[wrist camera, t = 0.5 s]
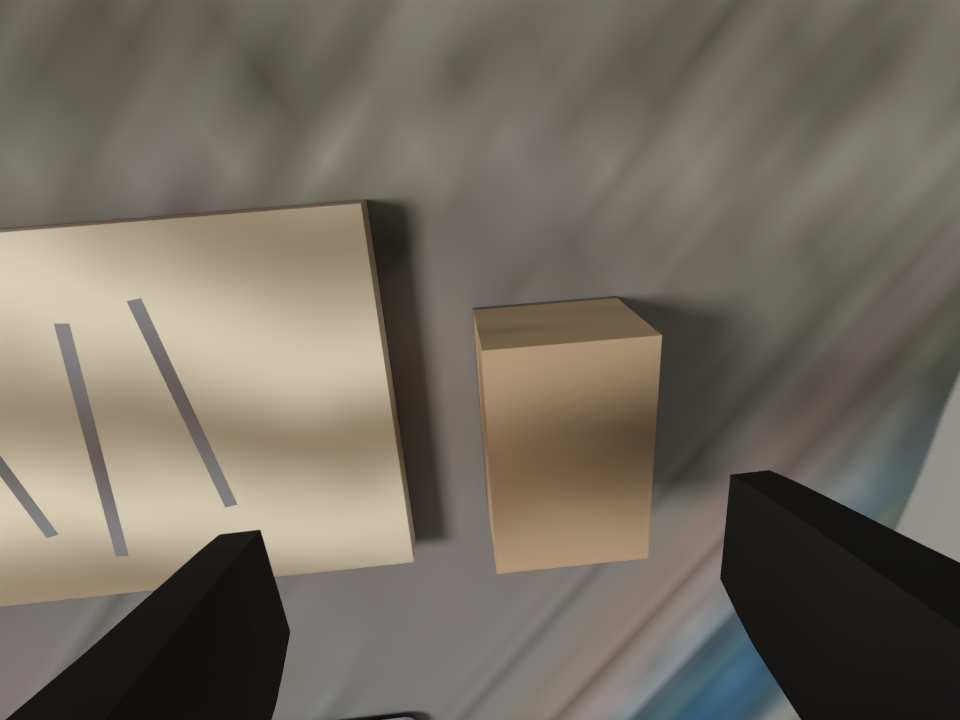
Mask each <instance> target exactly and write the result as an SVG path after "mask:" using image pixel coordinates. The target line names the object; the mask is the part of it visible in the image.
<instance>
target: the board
mask: <svg viewBox="0 0 960 720" xmlns="http://www.w3.org/2000/svg"><path fill="white" fill-rule="evenodd" d="M253 530H261V533H262V537H263V540H264V544H265V547H266V550H267V554H268V557H269V561H270V564H271V568H272V571H273V575H274V577H279V576H288V575H297V574H307V573H316V572H325V571H335V570H344V569H353V568H362V567H372V566H381V565H390V564H400V563H409V562H414V553H415V533H414V526H413V519H412V512H411V505H410V498H409V491H408V484H407V477H406V470H405V463H404V456H403V449H402V443H401V436H400V429H399V422H398V415H397V408H396V401H395V394H394V387H393V380H392V373H391V366H390V359H389V352H388V345H387V339H386V332H385V325H384V318H383V311H382V304H381V297H380V290H379V283H378V276H377V269H376V262H375V255H374V248H373V241H372V234H371V228H370V221H369V214H368V207H367V200H355V201H343V202H330V203H318V204H305V205H293V206H281V207H268V208H256V209H243V210H231V211H218V212H206V213H194V214H181V215H169V216H156V217H144V218H131V219H119V220H107V221H94V222H82V223H69V224H57V225H44V226H32V227H20V228H7V229H0V606H9V605H18V604H28V603H37V602H46V601H56V600H65V599H74V598H84V597H93V596H102V595H111V594H121V593H130V592H139V591H149V590H156V589H157V588H158V587H160V586H161V585H162V584H163V583H164V582H165V581H166V580H167V579H168V578H170V577H171V576H172V575H173V574H174V573H175V572H176V571H177V570H178V569H180V568H181V567H182V566H183V565H184V564H185V563H186V562H187V561H189V560H190V559H191V558H192V557H193V556H194V555H195V554H197V553H198V552H199V551H200V550H201V549H202V548H203V547H205V546H206V545H207V544H208V543H209V542H211V541H212V540H213V539H214V538H216V537H217V536H218V535H219V534H227V533H236V532H244V531H253Z"/></svg>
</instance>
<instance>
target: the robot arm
mask: <svg viewBox="0 0 960 720" xmlns="http://www.w3.org/2000/svg"><path fill="white" fill-rule="evenodd" d="M720 579H721V581H722V583H723V585H724V587H725V589H726V592H727V594H728V596H729V598H730V600H731V602H732V604H733V606H734V608H735V610H736V613H737V615H738V616H739V618H740V620H741V622H742V624H743V626H744V628H745V630H746V632H747V634H748V636H749V638H750V640H751V642H752V644H753V645H754V647H755V648H756V650H757V652H758V653H759V655H760V656H761V658H762V660H763V661H764V663H765V664H766V666H767V667H768V669H769V670H770V672H771V674H772V675H773V677H774V678H775V680H776V681H777V683H778V685H779V686H780V688H781V689H782V691H783V692H784V694H785V695H786V697H787V699H788V700H789V702H790V703H791V705H792V706H793V708H794V709H795V711H796V712H797V714H798V715H799V717H800V718H801V720H960V563H959V562H957V561H955V560H953V559H951V558H949V557H947V556H945V555H943V554H940V553H938V552H936V551H934V550H932V549H930V548H928V547H926V546H924V545H922V544H920V543H918V542H916V541H914V540H912V539H910V538H908V537H906V536H904V535H901V534H900V533H898V532H896V531H894V530H892V529H890V528H888V527H886V526H884V525H882V524H880V523H878V522H876V521H874V520H872V519H870V518H868V517H866V516H864V515H862V514H860V513H858V512H856V511H854V510H852V509H850V508H848V507H846V506H844V505H842V504H840V503H838V502H836V501H834V500H832V499H830V498H828V497H826V496H824V495H822V494H820V493H818V492H816V491H814V490H812V489H810V488H808V487H805V486H803V485H801V484H799V483H797V482H795V481H793V480H791V479H788V478H786V477H784V476H782V475H779V474H777V473H775V472H772V471H770V470H768V471H759V472H750V473H742V474H733V475H731V476H730V486H729V496H728V506H727V516H726V526H725V537H724V547H723V557H722V567H721V577H720ZM289 635H290V630H289V626H288V623H287V619H286V616H285V612H284V609H283V606H282V602H281V599H280V595H279V592H278V588H277V585H276V581H275V578H274V575H273V571H272V568H271V564H270V561H269V557H268V554H267V550H266V547H265V544H264V540H263V537H262V533H261V530H253V531H244V532H236V533H227V534H219V535H218V536H217V537H216V538H214V539H213V540H212V541H211V542H209V543H208V544H207V545H206V546H205V547H203V548H202V549H201V550H200V551H199V552H198V553H197V554H195V555H194V556H193V557H192V558H191V559H190V560H189V561H187V562H186V563H185V564H184V565H183V566H182V567H181V568H180V569H178V570H177V571H176V572H175V573H174V574H173V575H172V576H171V577H170V578H168V579H167V580H166V581H165V582H164V583H163V584H162V585H161V586H160V587H158V588H157V589H156V590H155V591H154V592H153V593H152V594H151V595H150V596H149V597H147V598H146V599H145V600H144V601H143V602H142V603H141V604H140V605H138V606H137V607H136V608H135V609H134V610H133V611H132V612H131V613H129V614H128V615H127V616H126V617H125V618H124V619H123V620H122V621H120V622H119V623H118V624H117V625H116V626H115V627H114V628H113V629H111V630H110V631H109V632H108V633H107V634H106V635H105V636H104V637H102V638H101V639H100V640H99V641H98V642H97V643H96V644H95V645H93V646H92V647H91V648H90V649H89V650H88V651H87V652H86V653H84V654H83V655H82V656H81V657H80V658H79V659H77V660H76V661H75V662H74V663H73V664H71V665H70V666H69V667H68V668H67V669H65V670H64V671H63V672H62V673H61V674H59V675H58V676H57V677H56V678H55V679H54V680H52V681H51V682H50V683H49V684H48V685H46V686H45V687H44V688H43V689H42V690H40V691H39V692H38V693H37V694H36V695H34V696H33V697H32V698H31V699H30V700H28V701H27V702H26V703H25V704H24V705H22V706H21V707H20V708H19V709H18V710H17V711H15V712H14V713H13V714H12V715H11V716H9V717H8V718H7V719H6V720H271V719H272V716H273V712H274V709H275V706H276V702H277V697H278V692H279V687H280V683H281V678H282V673H283V668H284V662H285V657H286V651H287V646H288V640H289ZM384 720H414V719H413V718H410V717H401V718H393V719H384Z"/></svg>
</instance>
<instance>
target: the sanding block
mask: <svg viewBox="0 0 960 720" xmlns="http://www.w3.org/2000/svg"><path fill="white" fill-rule="evenodd" d="M473 318H474V332H475V346H476V359H477V373H478V387H479V401H480V414H481V428H482V442H483V456H484V470H485V483H486V496H487V504H488V511H489V518H490V525H491V533H492V540H493V547H494V554H495V562H496V569H497V574H500V573H509V572H519V571H528V570H538V569H547V568H557V567H567V566H576V565H586V564H595V563H605V562H615V561H624V560H634V559H643V558H648V548H649V533H650V517H651V501H652V486H653V470H654V454H655V438H656V423H657V407H658V391H659V376H660V360H661V344H662V335H661V334H660V333H659V332H658V331H656V330H655V329H654V328H653V327H652V326H650V325H649V324H648V323H647V322H645V321H644V320H643V319H642V318H641V317H639V316H638V315H637V314H636V313H635V312H633V311H632V310H631V309H630V308H629V307H627V306H626V305H625V304H624V303H623V302H621V301H620V300H619V299H618V298H616V297H615V296H612V297H600V298H588V299H576V300H564V301H552V302H540V303H528V304H516V305H503V306H491V307H479V308H473Z"/></svg>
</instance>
